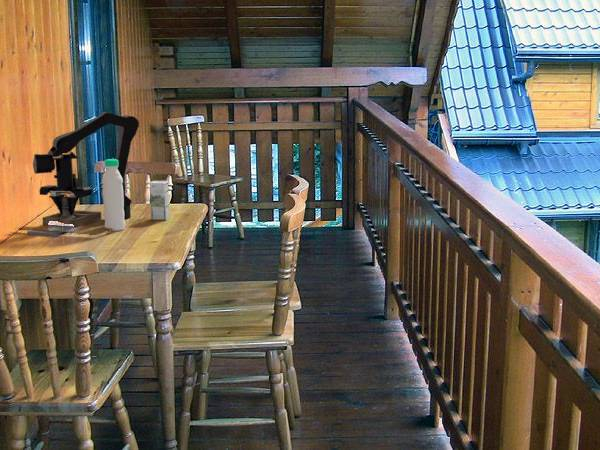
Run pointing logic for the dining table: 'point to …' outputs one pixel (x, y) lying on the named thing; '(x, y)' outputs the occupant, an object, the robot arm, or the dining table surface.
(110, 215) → the white bottle
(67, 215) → the grey turned upright piece
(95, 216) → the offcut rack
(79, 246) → the dining table surface
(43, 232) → the slate pad
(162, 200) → the syrup box
